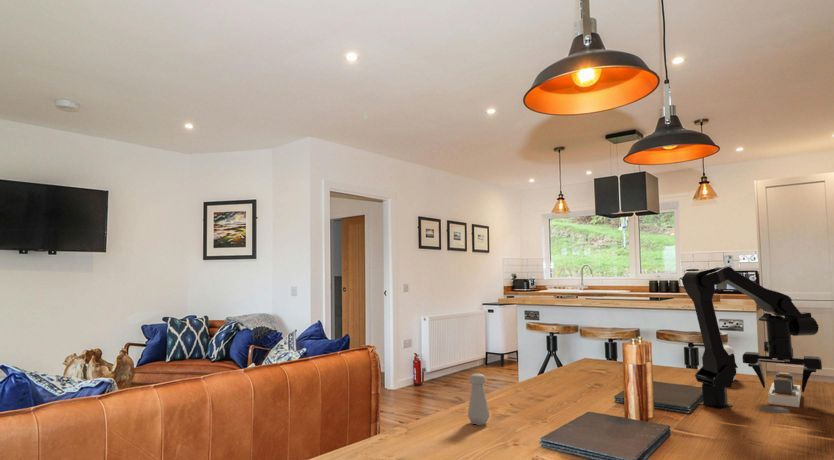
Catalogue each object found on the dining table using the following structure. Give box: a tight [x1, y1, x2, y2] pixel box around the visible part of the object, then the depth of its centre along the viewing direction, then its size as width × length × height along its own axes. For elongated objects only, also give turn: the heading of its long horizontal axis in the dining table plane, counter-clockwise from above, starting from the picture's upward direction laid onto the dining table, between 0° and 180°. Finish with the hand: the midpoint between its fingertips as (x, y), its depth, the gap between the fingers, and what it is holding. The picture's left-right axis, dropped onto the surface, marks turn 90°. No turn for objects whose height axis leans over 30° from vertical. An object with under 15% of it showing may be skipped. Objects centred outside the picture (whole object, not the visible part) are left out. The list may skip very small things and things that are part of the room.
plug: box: [773, 377, 793, 396], centre depth 146 cm, size 4×4×6 cm
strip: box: [767, 371, 802, 408], centre depth 155 cm, size 33×7×7 cm, turn 141°
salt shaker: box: [467, 373, 490, 426], centre depth 134 cm, size 6×6×13 cm
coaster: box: [758, 405, 791, 414], centre depth 138 cm, size 7×7×1 cm
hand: (783, 389), depth 146 cm, fingers open, 9 cm apart
